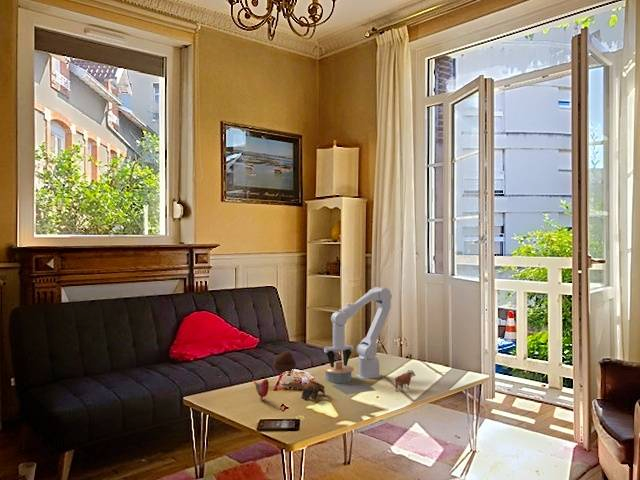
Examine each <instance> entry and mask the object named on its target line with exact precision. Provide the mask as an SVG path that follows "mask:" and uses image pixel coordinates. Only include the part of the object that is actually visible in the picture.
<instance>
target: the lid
mask: <svg viewBox="0 0 640 480" xmlns="http://www.w3.org/2000/svg"><path fill="white" fill-rule="evenodd" d="M323 371H324V372H325V373H326V372H329V373H336V374H343V373H350V372H353V371H355V368H354V367H353V366H350V365H347V366H344V364H343V360H336V361H335V364H334V367H333V368H332V367H331V365H330V364H329V365H327V366H324V368H323Z"/></svg>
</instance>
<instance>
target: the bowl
mask: <svg viewBox="0 0 640 480" xmlns="http://www.w3.org/2000/svg"><path fill="white" fill-rule="evenodd" d="M352 372H353V371H352ZM352 372H350V373H343V374H336V373H329V372H326V371H325V380H326V381H327V382H329V383H334V384H335V383H336V384H345V383H350V382H351V381H352V375H353V373H352Z"/></svg>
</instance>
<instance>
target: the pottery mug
mask: <svg viewBox="0 0 640 480" xmlns="http://www.w3.org/2000/svg"><path fill="white" fill-rule="evenodd" d="M325 387H326V386H324V385H323V384H321V383H319V382H317V381H314V380H311V379H310V380H309V381H308V383H306V384H304V387H303V389H302V393H301V398H302V399H303V400H307V401H310V398H311V399H312V400H316V399H317V397H318V395H319V392H320V393H321V394H322V397H325V394H326V393H325V391H326V390H325Z"/></svg>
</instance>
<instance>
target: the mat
mask: <svg viewBox="0 0 640 480" xmlns="http://www.w3.org/2000/svg"><path fill="white" fill-rule="evenodd" d="M331 386H332V387H333V388H335V389H336V390H338V391H340V392H342V393H343V394H345V395H350V394H359V393H364V392H365V393H366V392H373V391H376V389H375V388H374V387H372V386H370V385H368V384H366V383H364V382H362V381H355V382H345V383H336V384H331Z"/></svg>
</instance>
